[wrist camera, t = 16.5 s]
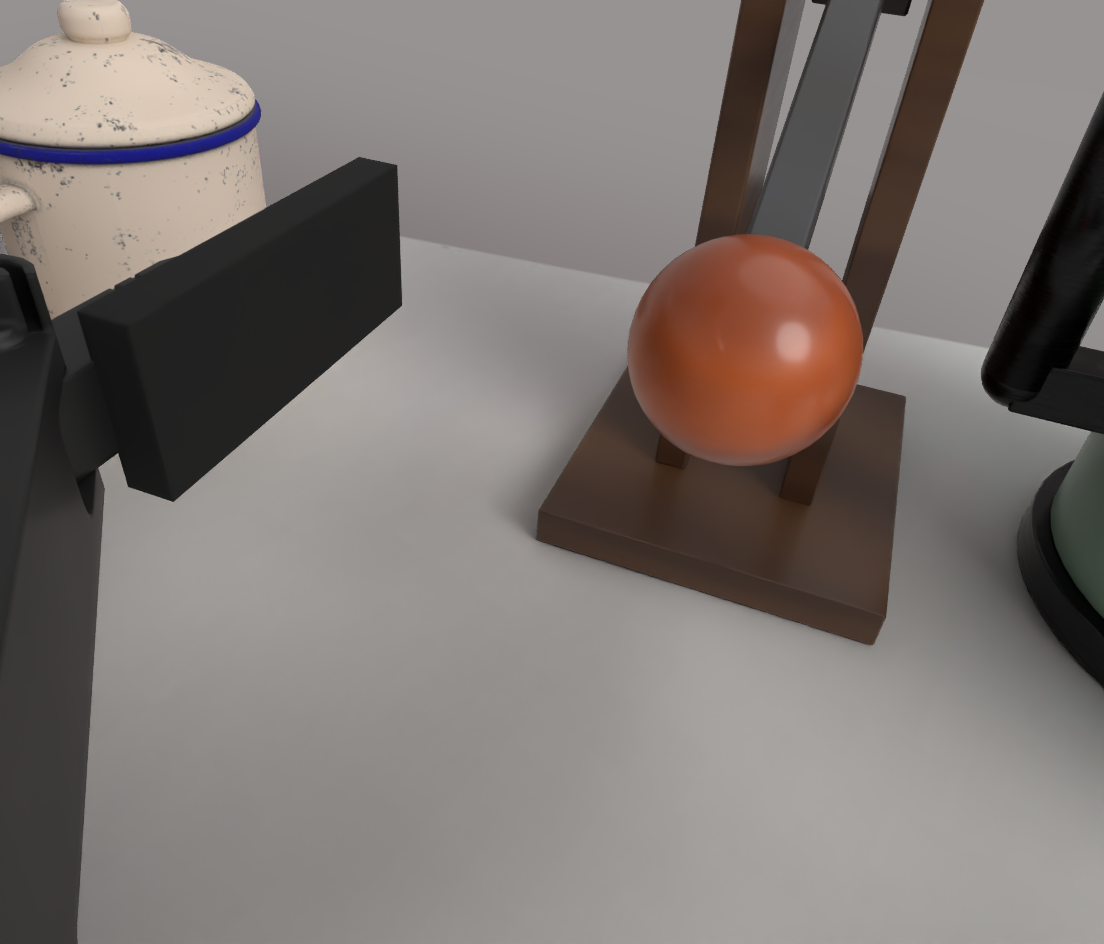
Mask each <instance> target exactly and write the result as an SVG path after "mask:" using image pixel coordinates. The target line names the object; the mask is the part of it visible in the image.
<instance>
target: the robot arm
mask: <svg viewBox="0 0 1104 944" xmlns="http://www.w3.org/2000/svg"><path fill="white" fill-rule="evenodd" d="M398 205H399V204H398V176H397V165H394V164H389V163H385V162H380V161H375V160H370V159H366V158H361V157H358V158H356V159H355V160H353V161H351V162H349V163H347V164H346V165H344V166H342V167H340V168H338V169H336V170H335V171H333V172H331V173H329V174H327V175H326V176H324V177H322V178H320V179H318V180H316V181H314V182H313V183H311V184H309V185H307V186H305V187H304V188H302V189H300V190H298V191H296V192H294V193H292V194H291V195H289V196H287V197H285V198H283V199H281V200H280V201H278V202H276V203H274V204H273V205H270V206H269V207H267V208H265V209H263V210H261V211H259V212H258V213H256V214H254V215H252V216H250V217H249V218H247V219H245V220H243V221H241V222H239V223H238V224H236V225H234V226H232V227H230V228H228V229H227V230H225V231H223V232H221V233H219V234H217V235H216V236H214V237H212V238H210V239H208V240H206V241H205V242H203V243H201V244H199V245H197V246H195V247H194V248H192V249H190V250H188V251H186V252H184V253H183V254H181V255H179V256H176V257H172V258H168V259H165V260H161V261H159V262H157V263H155V264H153V265H152V266H150V267H148V268H146V269H144V270H142V271H140V272H139V273H137V274H135V277H134V278H131V277H129V278H127V279H126V280H124V281H122V282H120V283H118V284H116V285H114V289H110V288H109V289H107V290H105V291H103V292H102V293H100V294H98V295H96V296H94V297H92V298H90V299H89V300H87V301H85V302H83V303H81V304H79V305H77V306H76V307H74V308H72V309H70V310H68V311H66V312H65V313H63V314H61V315H59V316H57V317H55V318H53V319H52V320H51V317H50V314H49V311H48V308H47V305H46V302H45V299H44V295H43V292H42V289H41V286H40V283H39V280H38V276H37V273H36V270H35V267H34V264H32V263H31V262H29V261H27V260H25V259H24V258H21V257H16V256H10V255H5V254H0V944H78V940H77V919H78V903H79V887H80V871H81V855H82V839H83V824H84V808H85V792H86V776H87V760H88V744H89V728H90V712H91V696H92V681H93V665H94V649H95V633H96V617H97V601H98V585H99V569H100V553H101V538H102V522H103V506H104V490H105V488H104V485H103V482H102V479H101V475H100V472H99V469H98V467H100V466H101V465H102V464H104V463H105V462H106V461H108V460H109V459H110V458H112V457H113V456H114V455H116V454H117V453H118V454H119V457H120V460H121V464H122V467H123V471H124V474H125V477H126V481H127V484H128V487H130V488H133V489H136V490H139V491H142V492H145V493H148V494H151V495H154V496H157V497H160V498H163V499H166V500H169V501H172V502H174V501H175V500H176V499H177V498H178V497H180V496H181V495H182V494H183V493H184V492H185V491H187V490H188V489H189V488H190V487H191V486H192V485H194V484H195V483H196V482H197V481H198V480H199V479H201V478H202V477H203V476H204V475H205V474H206V473H208V472H209V471H210V470H211V469H212V468H213V467H215V466H216V465H217V464H218V463H219V462H220V461H222V460H223V459H224V458H225V457H226V456H227V455H229V454H230V453H231V452H232V451H233V450H234V449H236V448H237V447H238V446H239V445H240V444H241V443H243V442H244V441H245V440H246V439H247V438H248V437H249V436H251V435H252V434H253V433H254V432H255V431H256V430H258V429H259V428H260V427H261V426H262V425H263V424H265V423H266V422H267V421H268V420H269V419H270V418H272V417H273V416H274V415H275V414H276V413H277V412H279V411H280V410H281V409H282V408H283V407H284V406H286V405H287V404H288V403H289V402H290V401H291V400H293V399H294V398H295V397H296V396H297V395H298V394H300V393H301V392H302V391H303V390H304V389H305V388H307V387H308V386H309V385H310V384H311V383H312V382H314V381H315V380H316V379H317V378H318V377H319V376H321V375H322V374H323V373H324V372H325V371H326V370H328V369H329V368H330V367H331V366H332V365H333V364H334V363H336V362H337V361H338V360H339V359H340V358H341V357H343V356H344V355H345V354H346V353H347V352H348V351H350V350H351V349H352V348H353V347H354V346H355V345H357V344H358V343H359V342H360V341H361V340H362V339H364V338H365V337H366V336H367V335H368V334H369V333H371V332H372V331H373V330H374V329H375V328H376V327H378V326H379V325H380V324H381V323H382V322H383V321H385V320H386V319H387V318H388V317H389V316H390V315H392V314H393V313H394V312H395V311H396V310H397V309H399V308H400V307H401V306H402V288H401V260H400V232H399V206H398Z"/></svg>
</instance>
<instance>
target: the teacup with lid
mask: <svg viewBox="0 0 1104 944" xmlns="http://www.w3.org/2000/svg"><path fill="white" fill-rule="evenodd" d="M57 14H58V18H59V23H60V27H61V29H62V30H63V32H64V33H61V34H57V35H54V36H51V37H48V38H45V39H42V40H40V41H38V42H36V43H35V44H33V45H32V46H30V47H29V48H28V49H27V50H26V51H24V52H23V53H22V54H21V55H20V56H19V57H18V58H17V59H16V60H15V61H13V62H12V63H10V64H7V65H3V66H0V231H1V234H2V237H3V240H4V243H5V246H6V249H7V252H8V255H10V256H16V257H21V258H24V259H25V260H27V261H29V262H31V263H32V264H34V267H35V270H36V273H37V276H38V280H39V283H40V286H41V289H42V292H43V295H44V299H45V302H46V305H47V308H48V311H49V314H50V317H51V320H52V319H53V318H55V317H57V316H59V315H61V314H63V313H65V312H66V311H68V310H70V309H72V308H74V307H76V306H77V305H79V304H81V303H83V302H85V301H87V300H89V299H90V298H92V297H94V296H96V295H98V294H100V293H102V292H103V291H105V290H107V289H109V288H110V289H114V285H116V284H118V283H120V282H122V281H124V280H126V279H127V278H129V277H131V278H134V277H135V274H137V273H139V272H140V271H142V270H144V269H146V268H148V267H150V266H152V265H153V264H155V263H157V262H159V261H161V260H165V259H168V258H172V257H176V256H179V255H181V254H183V253H184V252H186V251H188V250H190V249H192V248H194V247H195V246H197V245H199V244H201V243H203V242H205V241H206V240H208V239H210V238H212V237H214V236H216V235H217V234H219V233H221V232H223V231H225V230H227V229H228V228H230V227H232V226H234V225H236V224H238V223H239V222H241V221H243V220H245V219H247V218H249V217H250V216H252V215H254V214H256V213H258V212H259V211H261V210H263V209H265V208H266V202H265V194H264V187H263V179H262V172H261V164H260V157H259V149H258V142H257V134H256V125H257V124H258V122H259V120H260V117H261V109H260V106H259V104H258V102H257V100H256V99H255V96H254V93H253V91H252V90H251V88H250V87H249V85H248V84H247V83H246V82H245V81H244V80H243V79H242V78H241V77H240V76H238V75H237V74H235V73H234V72H232V71H230V70H228V69H226V68H224V67H221V66H218V65H215V64H212V63H208V62H205V61H200V60H196V59H192V58H190V57H188V56H186V55H185V54H183V53H182V52H180V51H178V50H177V49H175V48H174V47H172V46H171V45H169V44H167V43H165V42H163V41H161V40H159V39H157V38H154V37H151V36H147V35H143V34H139V33H134V32H131V21H130V17H129V13H128V11H127V9H126V8H125V7H124V6H123V4H122V3H120V2H119V1H117V0H64V1H62V2H61V3H60V5H59V7H58V11H57Z"/></svg>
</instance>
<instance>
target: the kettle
mask: <svg viewBox="0 0 1104 944" xmlns="http://www.w3.org/2000/svg"><path fill="white" fill-rule="evenodd" d="M1103 299H1104V92H1103V94H1102V97H1101V99H1100V101H1099V103H1098V106H1097V108H1096V110H1095V112H1094V115H1093V117H1092V119H1091V121H1090V124H1089V126H1088V128H1087V130H1086V133H1085V135H1084V137H1083V139H1082V142H1081V144H1080V146H1079V148H1078V151H1077V153H1076V155H1075V157H1074V160H1073V162H1072V164H1071V166H1070V169H1069V171H1068V173H1067V176H1066V178H1065V180H1064V182H1063V184H1062V187H1061V189H1060V191H1059V193H1058V196H1057V198H1056V200H1055V202H1054V204H1053V207H1052V209H1051V211H1050V213H1049V216H1048V218H1047V220H1046V222H1045V225H1044V227H1043V229H1042V232H1041V234H1040V236H1039V238H1038V240H1037V243H1036V245H1035V247H1034V249H1033V252H1032V254H1031V256H1030V259H1029V261H1028V263H1027V265H1026V267H1025V270H1024V272H1023V274H1022V277H1021V279H1020V281H1019V283H1018V285H1017V288H1016V290H1015V292H1014V294H1013V297H1012V299H1011V301H1010V303H1009V306H1008V308H1007V310H1006V312H1005V315H1004V317H1003V319H1002V321H1001V324H1000V326H999V328H998V330H997V333H996V335H995V337H994V340H993V342H992V344H991V346H990V348H989V351H988V353H987V355H986V357H985V360H984V362H983V365H982V368H981V381H982V385H983V387H984V390H985V391H986V393H987V394H988V395H989V397H990V398H991V399H992V400H994V401H995V402H997V403H998V404H1000V405H1002V406H1005V407H1008V410H1009V411H1011V412H1014V413H1019V414H1023V415H1027V416H1031V417H1035V418H1039V419H1043V420H1047V421H1051V422H1055V423H1060V424H1064V425H1068V426H1072V427H1076V428H1080V429H1084V430H1088V431H1091V433H1090V434H1089V436H1088V438H1087V440H1086V441H1085V443H1084V445H1083V447H1082V448H1081V450H1080V452H1079V454H1078V456H1077V457H1076V459H1075V460H1073V461H1070V462H1068V463H1067V464H1065V465H1063V466H1062V467H1060V468H1058V469H1057V470H1055V471H1054V472H1053V473H1052V474H1051V475H1050V476H1049V477H1048V478H1046V479H1045V480H1044V481H1043V483H1042V484H1041V486H1040V488H1039V489H1038V491H1037V493H1036V494H1035V496H1034V498H1033V500H1032V502H1031V503H1030V505H1029V507H1028V509H1027V511H1026V513H1025V514H1024V516H1023V518H1022V521H1021V525H1020V528H1019V532H1018V557H1019V562H1020V568H1021V572H1022V575H1023V577H1024V580H1025V583H1026V585H1027V588H1028V591H1029V593H1030V595H1031V597H1032V598H1033V600H1034V602H1035V604H1036V606H1037V607H1038V609H1039V611H1040V613H1041V615H1042V616H1043V617H1044V619H1045V620H1046V622H1047V623H1048V624H1049V626H1050V627H1051V629H1052V630H1053V631H1054V633H1055V634H1056V636H1057V637H1058V638H1059V640H1060V641H1061V642H1062V643H1063V644H1064V645H1065V647H1066V648H1067V649H1068V650H1069V651H1070V652H1071V653H1072V655H1073V656H1074V657H1075V658H1076V659H1077V660H1078V661H1079V662H1080V664H1081V665H1082V666H1083V667H1084V668H1085V669H1086V670H1088V671H1089V672H1090V673H1091V674H1092V675H1093V676H1094V677H1095V678H1096V679H1097V680H1098V681H1099V682H1100V683H1101V684H1102V685H1103V686H1104V351H1099V350H1095V349H1090V348H1086V347H1081V346H1080V344H1081V342H1082V340H1083V338H1084V336H1085V334H1086V332H1087V330H1088V328H1089V326H1090V324H1091V322H1092V320H1093V318H1094V317H1095V314H1096V313H1097V311H1098V309H1099V307H1100V305H1101V303H1102V301H1103Z"/></svg>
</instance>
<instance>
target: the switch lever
mask: <svg viewBox="0 0 1104 944" xmlns="http://www.w3.org/2000/svg"><path fill="white" fill-rule="evenodd" d="M911 1H912V0H812V2H813V3H818V4H825V5H826V6H825V9H824V12H823V15H822V17H821V20H820V23H819V26H818V29H817V32H816V35H815V38H814V41H813V44H812V46H811V49H810V52H809V55H808V58H807V61H806V64H805V67H804V70H803V72H802V75H801V78H800V81H799V84H798V87H797V90H796V93H795V95H794V98H793V101H792V104H791V107H790V111H789V113H788V116H787V119H786V121H785V124H784V127H783V130H782V133H781V136H780V139H779V142H778V145H777V147H776V150H775V153H774V156H773V159H772V162H771V165H770V168H769V171H768V173H767V176H766V179H765V182H764V185H763V188H762V191H761V194H760V197H759V199H758V202H757V205H756V208H755V211H754V214H753V217H752V220H751V223H750V225H749V228H748V231H747V234H740V235H731V236H724V237H720V238H716V239H713V240H710V241H707V242H705V243H702V244H700V245H698V246H696V247H694V248H692V249H690V250H688V251H686V252H685V253H683V254H682V255H680V256H679V257H677V258H676V259H674V260H673V261H672V262H671V263H670V264H669V265H667V266H666V267H665V268H664V269H663V270H662V271H661V272H660V273H659V274H658V276H657V277H656V278H655V279H654V280H653V281H652V283H651V284H650V285H649V287H648V288H647V290H646V291H645V293H644V295H643V296H642V298H641V300H640V302H639V304H638V306H637V308H636V311H635V314H634V317H633V320H632V324H631V327H630V331H629V338H628V348H627V362H628V368H629V374H630V380H631V384H632V388H633V391H634V394H635V396H636V398H637V400H638V402H639V404H640V406H641V408H642V410H643V412H644V414H645V415H646V417H647V418H648V420H649V421H650V422H651V424H652V425H653V426H654V427H655V428H656V429H657V430H658V431H659V432H660V433H661V434H662V436H663V437H665V438H666V439H667V440H668V441H669V442H671V443H672V444H673V445H675V446H676V447H678V448H679V449H681V450H682V451H684V452H686V453H688V454H690V455H692V456H694V457H696V458H699V459H702V460H705V461H708V462H711V463H716V464H721V465H728V466H757V465H764V464H769V463H772V462H776V461H780V460H782V459H785V458H787V457H790V456H792V455H794V454H796V453H798V452H800V451H801V450H803V449H805V448H807V447H809V446H810V445H811V444H813V443H814V442H815V441H817V440H818V439H819V438H821V437H822V436H823V435H824V434H825V433H826V432H827V431H828V430H829V429H830V428H831V427H832V426H833V425H834V424H835V422H836V421H837V420H838V418H839V417H840V416H841V414H842V413H843V412H844V410H845V408H846V406H847V405H848V403H849V401H850V399H851V397H852V395H853V393H854V391H855V388H856V385H857V382H858V379H859V375H860V371H861V366H862V360H863V335H862V328H861V323H860V319H859V315H858V312H857V309H856V306H855V303H854V301H853V299H852V297H851V295H850V293H849V291H848V290H847V288H846V286H845V285H844V283H843V282H842V280H841V279H840V278H839V276H838V275H837V274H836V273H835V272H834V271H833V270H832V269H831V268H830V267H829V266H828V265H827V264H826V263H825V262H824V261H822V260H821V259H820V258H819V257H818V256H816V255H815V254H813V253H812V252H810V251H809V250H808V248H809V245H810V242H811V238H812V235H813V232H814V228H815V225H816V222H817V219H818V216H819V212H820V209H821V206H822V203H823V200H824V196H825V193H826V190H827V187H828V183H829V180H830V177H831V174H832V170H833V167H834V163H835V160H836V157H837V154H838V151H839V148H840V144H841V141H842V138H843V135H844V132H845V128H846V125H847V121H848V119H849V115H850V112H851V109H852V105H853V102H854V99H855V96H856V93H857V89H858V86H859V83H860V79H861V76H862V73H863V70H864V67H865V64H866V60H867V57H868V54H869V51H870V47H871V44H872V41H873V38H874V34H875V31H876V28H877V25H878V21H879V18H880V15H881V13H886V14H893V15H899V16H906V15H907V14H908V11H909V8H910V4H911Z"/></svg>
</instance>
